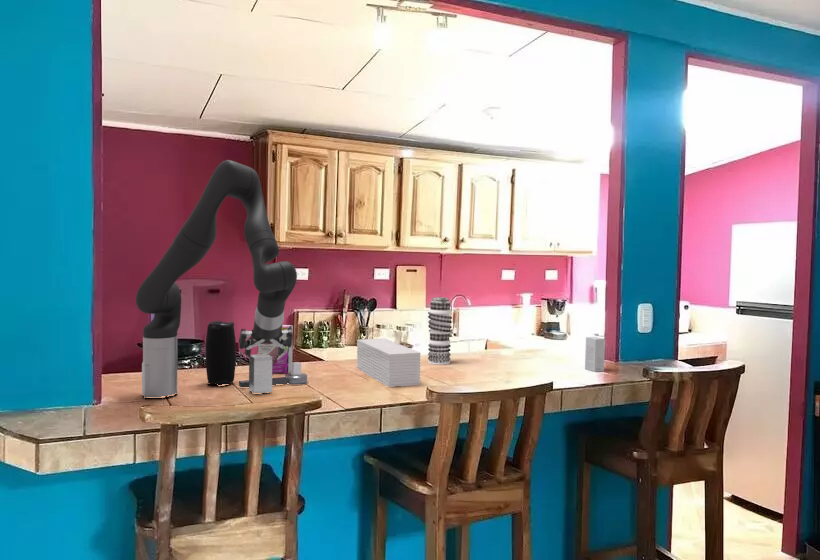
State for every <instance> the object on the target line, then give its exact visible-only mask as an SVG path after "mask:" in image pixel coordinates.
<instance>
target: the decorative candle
mask: <svg viewBox="0 0 820 560" xmlns="http://www.w3.org/2000/svg"><path fill="white" fill-rule="evenodd" d="M429 302H430V305H429V306H430V308H429V311H428V312H427V315H428V316H427V317H428V319H429V320H428V321H427V323H428V325H427V326H428V327H427V328H429V329H428V333H429V341H428V342H429V344H428V349H427V351H429V352H427V355H428V357H427V360H428V361H427V362H428V364H430V365H435V364H436V365H438V366H443V365H444V364H446V365H450V364H451V361H450V360H451V356H452V355H451V353H450V351H451V347H452V346H451V340H450V334H451V333H452V330H451V328H452V326H451V325H450V324H452V323H453V321H452V319H453V317H452V316H451V315H450V314H451V301H450V299H449V298H448V297H441V296H439V297H433V298H432V299H431V300H430V301H429ZM449 363H450V364H449ZM444 366H445V365H444Z"/></svg>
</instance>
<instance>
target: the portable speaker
mask: <svg viewBox="0 0 820 560" xmlns="http://www.w3.org/2000/svg"><path fill="white" fill-rule="evenodd" d="M205 338H206V339H205V368H206V379H207V384H208V383H211V384H215V385H216V386H217V384H218V385H222V384H230V383H231V382H232V381H233V382H234V381H235V372H236V364H237V357H236V356H237V354H236V353H237V350H236V349H237V347H236V346H237V345H236V344H237V343H236V333H235V324H234V322H233V321H230V322H227V321H220V320H219V321H218V320H216V321H215V320H214V321H210V322H209V323H208V325H207V329H206V337H205ZM233 382H232V383H233ZM232 383H231V384H232ZM231 384H230V385H231Z"/></svg>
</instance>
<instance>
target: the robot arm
mask: <svg viewBox="0 0 820 560" xmlns="http://www.w3.org/2000/svg"><path fill="white" fill-rule="evenodd" d="M259 177H260V176H259V175H258V172H257V171H256V170H255V169H254V168H252V167H250V166H248V165H245V164H242V163H239V162H237V161H234V160H230V159H226V160H223V161H221V162H220V163H219V164H218V165H217V167H216V168H215V169H214V170H213V172H212V174H211V176H210V179H209V180H208V182H207V184H206V186H205V188H204V190H203V192H202V194H201V196H200V199H198V202H197V203H196V205H195V207H194V208H193V210H192V211H191V213H190V215H189V217H188V218H187V219H186V221H185V223H184V224H183V225H182V227H181V228H180V230H178V232H177V234H176V235H175V237H174V239H173V240H172V243H171V244H170V245H169V247H168V249H167V250H166V251H165V253H164V254H163V256H162V257H161V259H160V261H159V262H158V263H157V265H156V266H155V267H154V269H153V270H152V271H151V272H150V273H149V275H148V276H147V277H146V278H145V279H144V280H143V282H142V283H141V285H140V286H139V288H138V289H137V292H136V296H135V303H136V306H137V308H138V310H139V311H140V312H142V313H144V314H148V315H149V314H150V315H151V314H152V315H153V314H154V315H153V319H152V320H151V321H150V322H149V323H148V324H146V325H145V326H144V327H143V328H142V363H141V395H142V394H143V395H142V396H144V397H145V398H146V397H161V396H168V395H172V394H175V393H177V394H178V331H179V328H180V325H181V317H182V316H181V313H182V312H181V311H182V293H181V290H180V287H179V286H178V284H177V283H176V282H177V281H178V279H179V278H180V277H182V276H183V275H184V274H186V273H188V271H190V270H191V269H193V268H194V267H195V266H196V265H198V263H200V262H201V261H202V260H203V259H204V258H205V256H206V255H207V254H208V252H209V250H210V249H211V248H212V246H213V245H214V243H215V241H216V237H217V228H218V227H217V215H218V211H219V208H220V207H221V205H222V203H223V202H224V200H225V199H226V198H227V197H230V198H234V199H237V200H240V202H241V203H242V204H243V207H244V208H245V211H246V219H245V222H244V226H243V227H244V228H243V235H244V238H245V241H246V245H247V247H248V250H249V252H250V256H251V259H252V267H253V271H252V272H253V284H254V288H255V289H256V290H257V291H259V293H258V296H257V303H256V308H255V313H254V321H253V328H252V330H246V328H241V329H240V334H239V339H238V345H239V346H238V347H239V349H240V350H242V349H244V353H245V356H247V357H248V358H249V357H250V355H252V348H256V347H258V345H259V344H265V343H267V344H272V343H274V344H275V345H276V346H278V356H280V355H281V354H283V353H284V348H285V347H286V346H288V347H291V346H293V345H292V336H293V335H292V328H291V327H289V328H287V330H282V325H284V324H283V323H284V319H285V308H286V307H285V306H286V303H287V302H286V301H287V300H288V299H289V297H290V295H291V293H292V292H293V290H294V288H295V287H296V284H297V279H298V274H297V273H298V272H297V269H296V267H295V266H294V264H292V262H289V261H278V262H277V261H276V262H272V263H269V262H271V261H273V260H274V259H277V257H278V256H279V255H280V249H279V244H278V243H277V240H276V237H275V235H274V233H273V230H272V227H271V224H270V222H269V218H268V215H267V209H266V204H265V200H264V199H265V198H264V194H263V190H262V189H263V188H262V184H261V181H260V178H259ZM282 335H285V337H286V338H287V340H284V339H282V338H281V337H282ZM144 397H143V398H144ZM145 398H144V399H145Z"/></svg>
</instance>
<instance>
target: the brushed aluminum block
mask: <svg viewBox="0 0 820 560" xmlns="http://www.w3.org/2000/svg"><path fill="white" fill-rule="evenodd" d="M248 358H249V359H248V380H249V388H248V391H249V390H250V391H251V392H253V393H267V392H272V393H273V386H272V378H273V373H272V356H270V355H268V354H258V353H257V354H251V355H250V357H248ZM251 392H250V393H251Z"/></svg>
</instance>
